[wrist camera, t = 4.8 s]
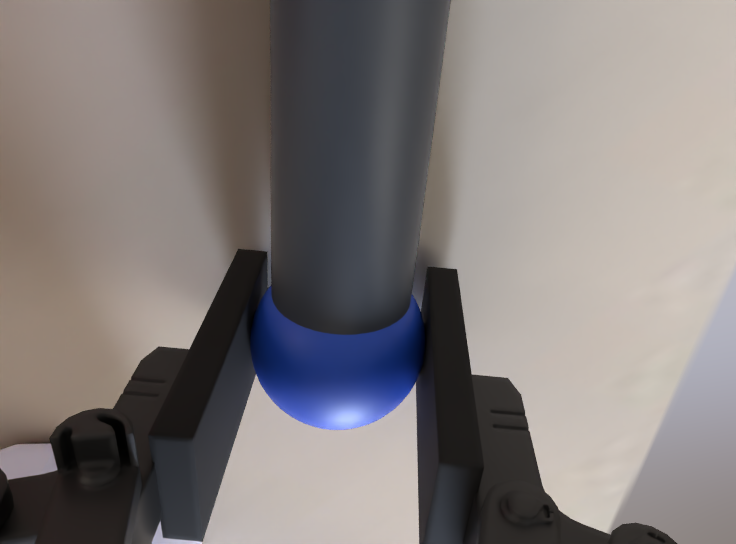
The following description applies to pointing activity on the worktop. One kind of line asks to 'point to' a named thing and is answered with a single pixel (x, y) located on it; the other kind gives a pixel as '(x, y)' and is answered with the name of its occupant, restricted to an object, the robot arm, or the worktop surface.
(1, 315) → the worktop surface
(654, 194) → the worktop surface
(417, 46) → the microphone
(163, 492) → the robot arm
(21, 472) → the soap bottle
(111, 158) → the worktop surface
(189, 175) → the worktop surface
